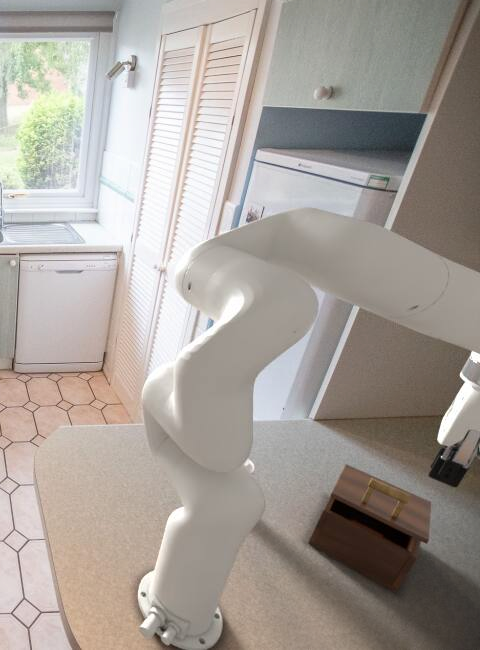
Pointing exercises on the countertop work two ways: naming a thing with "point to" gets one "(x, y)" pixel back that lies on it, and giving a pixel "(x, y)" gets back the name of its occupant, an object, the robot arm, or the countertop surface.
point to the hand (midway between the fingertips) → (443, 476)
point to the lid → (384, 502)
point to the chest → (365, 544)
